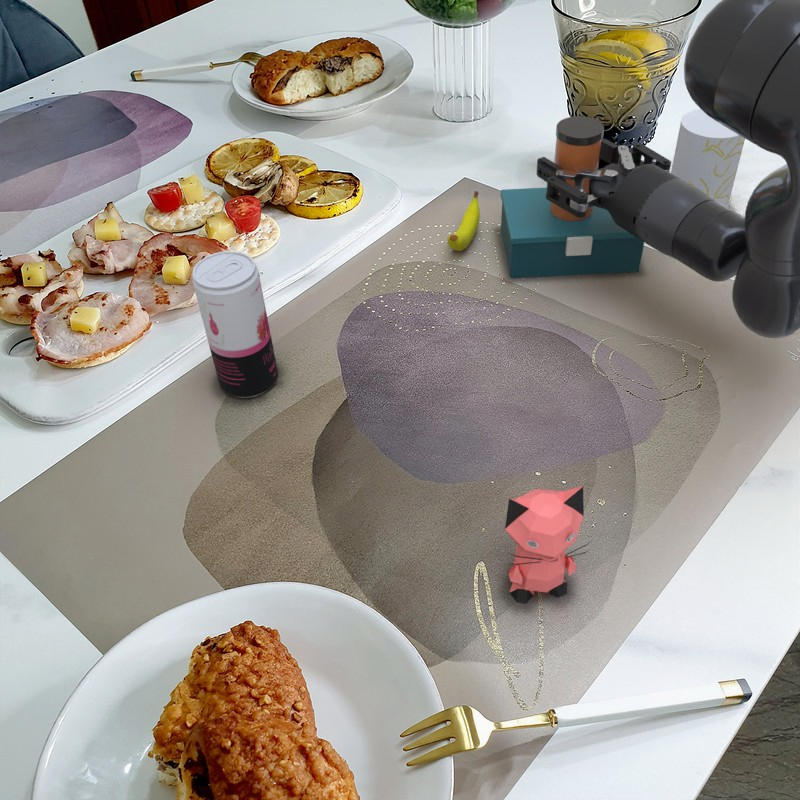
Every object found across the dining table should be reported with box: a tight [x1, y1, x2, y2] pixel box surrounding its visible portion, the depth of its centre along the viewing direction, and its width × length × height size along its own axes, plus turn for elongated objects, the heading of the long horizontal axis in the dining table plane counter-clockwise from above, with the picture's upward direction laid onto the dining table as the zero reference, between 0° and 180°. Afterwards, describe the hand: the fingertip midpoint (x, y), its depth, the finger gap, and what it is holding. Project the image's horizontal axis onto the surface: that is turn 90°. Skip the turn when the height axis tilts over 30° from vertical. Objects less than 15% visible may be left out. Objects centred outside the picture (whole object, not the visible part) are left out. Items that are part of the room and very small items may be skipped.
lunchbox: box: [500, 186, 645, 279], centre depth 109 cm, size 16×12×6 cm
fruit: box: [446, 190, 481, 252], centre depth 111 cm, size 10×2×5 cm, turn 159°
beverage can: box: [192, 250, 279, 399], centre depth 90 cm, size 6×7×15 cm
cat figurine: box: [504, 486, 593, 604], centre depth 71 cm, size 7×7×12 cm
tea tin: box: [550, 115, 605, 221], centre depth 103 cm, size 5×5×11 cm
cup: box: [670, 108, 746, 208], centre depth 113 cm, size 8×8×12 cm
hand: (566, 154), depth 103 cm, fingers open, 8 cm apart
